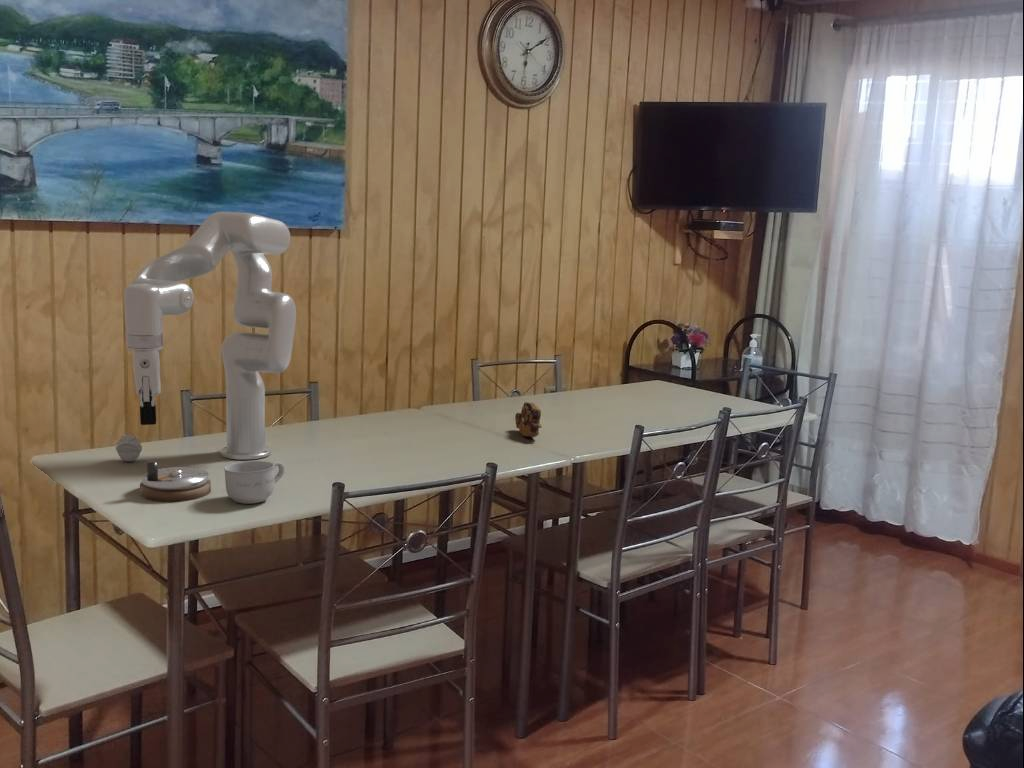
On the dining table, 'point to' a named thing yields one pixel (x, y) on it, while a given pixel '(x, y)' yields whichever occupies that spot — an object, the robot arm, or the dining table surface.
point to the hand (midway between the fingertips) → (148, 423)
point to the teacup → (251, 480)
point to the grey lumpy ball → (128, 448)
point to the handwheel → (173, 478)
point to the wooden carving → (529, 420)
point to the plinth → (175, 493)
